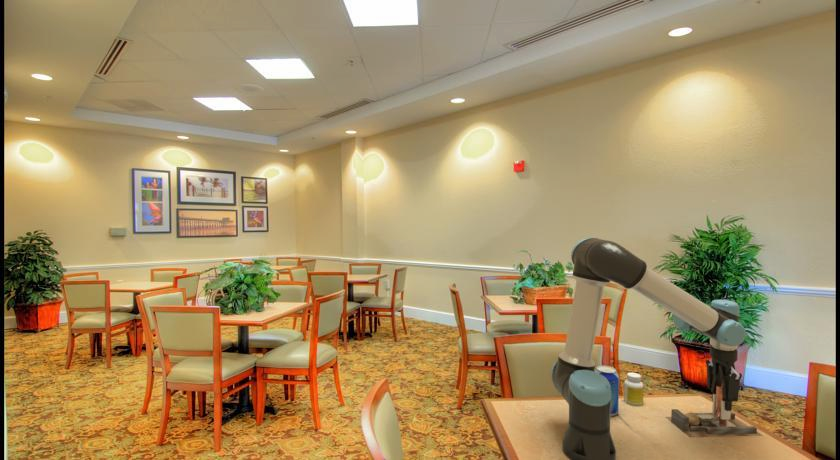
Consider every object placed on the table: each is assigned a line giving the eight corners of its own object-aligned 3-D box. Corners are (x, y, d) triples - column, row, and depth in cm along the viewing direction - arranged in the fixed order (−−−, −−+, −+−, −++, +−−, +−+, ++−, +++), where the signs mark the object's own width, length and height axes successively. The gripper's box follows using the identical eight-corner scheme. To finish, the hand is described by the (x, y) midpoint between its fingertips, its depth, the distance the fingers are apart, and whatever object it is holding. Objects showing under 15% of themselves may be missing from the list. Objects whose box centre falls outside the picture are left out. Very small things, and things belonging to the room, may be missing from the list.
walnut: (689, 429, 140) (689, 416, 139) (680, 422, 144) (681, 410, 144) (702, 429, 140) (702, 416, 140) (693, 422, 144) (693, 410, 144)
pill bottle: (645, 410, 156) (646, 379, 155) (626, 408, 157) (627, 377, 157) (640, 402, 162) (640, 372, 162) (621, 400, 164) (622, 371, 163)
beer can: (594, 415, 152) (595, 371, 151) (592, 405, 160) (592, 363, 159) (619, 419, 149) (620, 374, 148) (616, 408, 157) (617, 366, 156)
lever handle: (706, 431, 138) (707, 391, 138) (691, 420, 146) (692, 382, 145) (737, 430, 139) (739, 391, 138) (721, 419, 146) (723, 382, 145)
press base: (689, 440, 135) (690, 423, 135) (664, 420, 148) (665, 404, 148) (762, 439, 136) (763, 422, 136) (732, 418, 149) (732, 403, 149)
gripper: (754, 355, 133) (751, 428, 134) (716, 339, 149) (714, 404, 150) (731, 355, 133) (728, 428, 134) (695, 339, 149) (693, 404, 150)
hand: (721, 415), depth 142 cm, fingers closed on lever handle, 3 cm apart
